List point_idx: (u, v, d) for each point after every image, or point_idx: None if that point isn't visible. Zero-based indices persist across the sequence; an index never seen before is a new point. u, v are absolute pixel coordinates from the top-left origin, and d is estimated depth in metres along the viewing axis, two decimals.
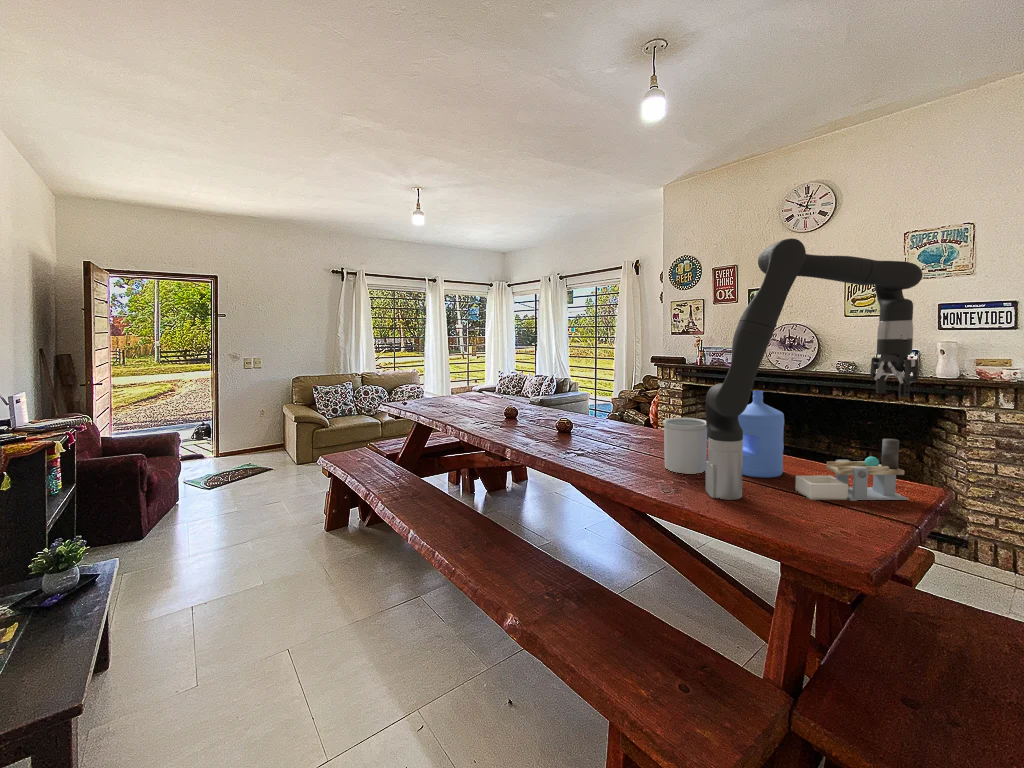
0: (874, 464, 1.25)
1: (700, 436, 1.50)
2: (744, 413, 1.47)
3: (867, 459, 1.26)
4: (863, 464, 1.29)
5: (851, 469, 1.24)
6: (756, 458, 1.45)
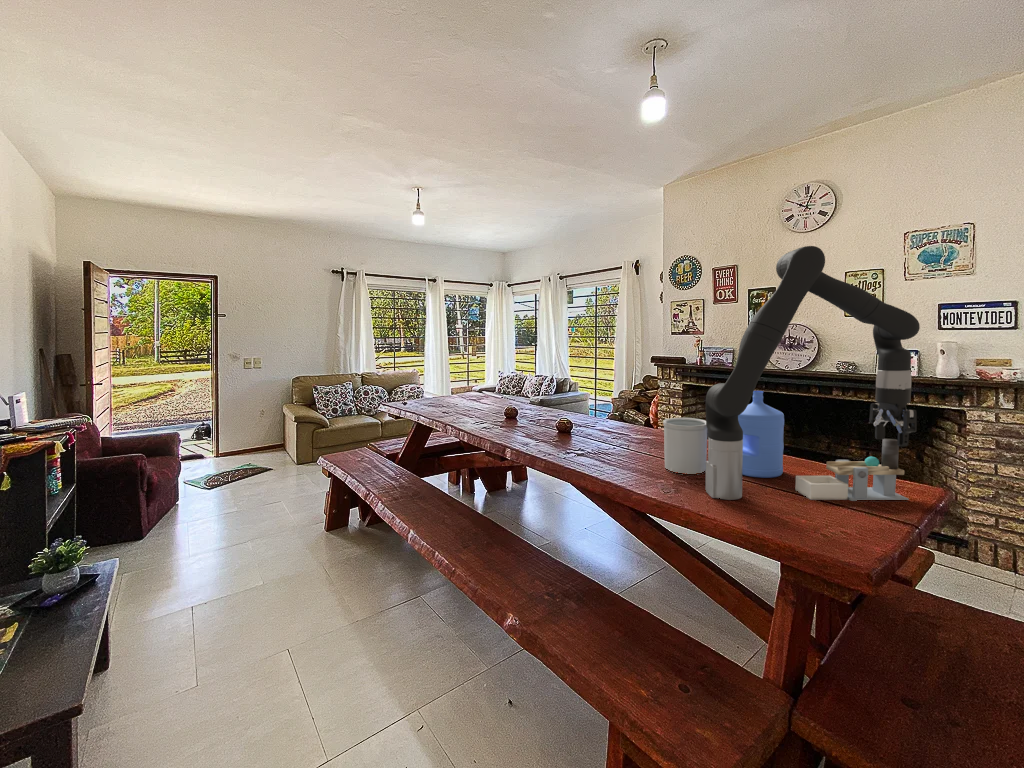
0: (874, 464, 1.25)
1: (700, 436, 1.50)
2: (744, 413, 1.47)
3: (867, 459, 1.26)
4: (863, 464, 1.29)
5: (851, 469, 1.24)
6: (756, 458, 1.45)
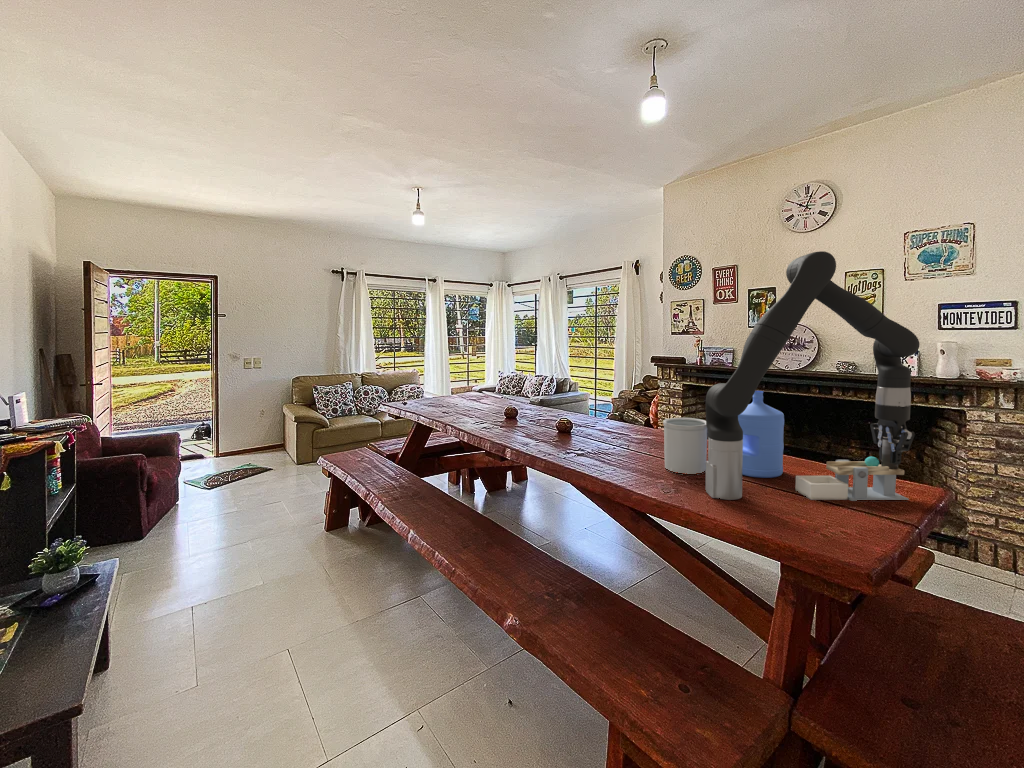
0: (875, 464, 1.25)
1: (700, 436, 1.50)
2: (744, 413, 1.47)
3: (867, 459, 1.26)
4: (863, 464, 1.29)
5: (851, 469, 1.24)
6: (756, 458, 1.45)
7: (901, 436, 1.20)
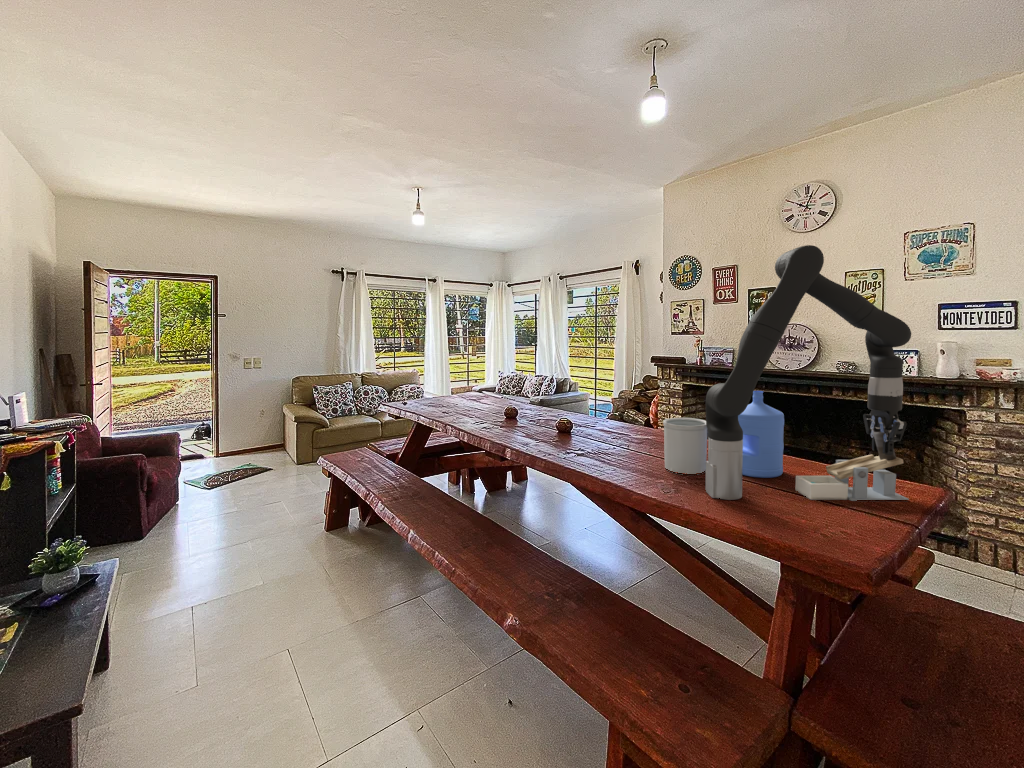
0: None
1: (700, 436, 1.50)
2: (744, 413, 1.47)
3: None
4: (862, 460, 1.29)
5: (850, 471, 1.24)
6: (756, 458, 1.45)
7: (893, 426, 1.20)
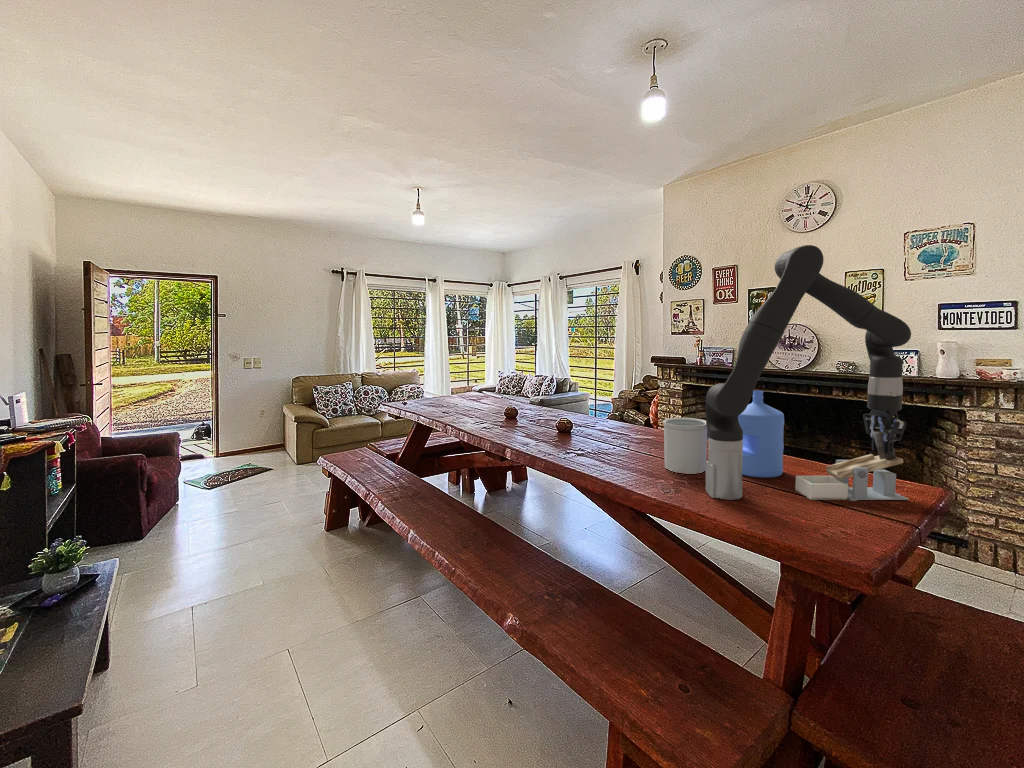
0: None
1: (700, 436, 1.50)
2: (744, 413, 1.47)
3: None
4: (862, 460, 1.29)
5: (850, 471, 1.24)
6: (756, 458, 1.45)
7: (893, 426, 1.20)
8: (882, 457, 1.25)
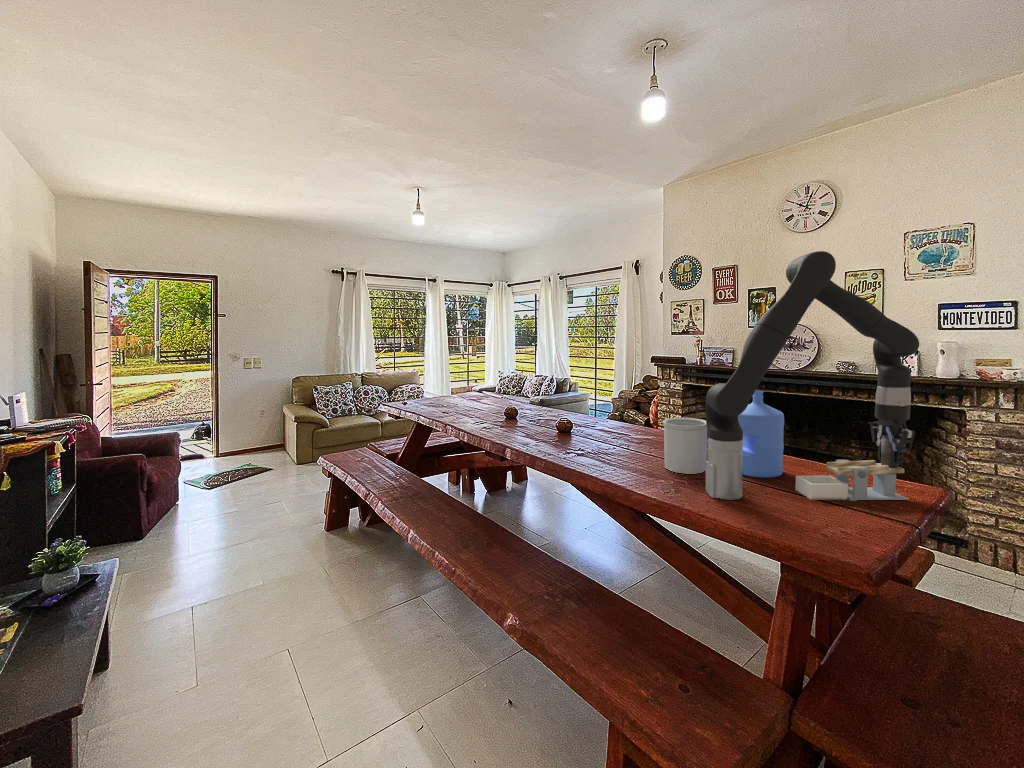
0: None
1: (700, 436, 1.50)
2: (744, 413, 1.47)
3: None
4: (863, 463, 1.29)
5: (851, 469, 1.24)
6: (756, 458, 1.45)
7: (902, 435, 1.20)
8: (884, 464, 1.26)
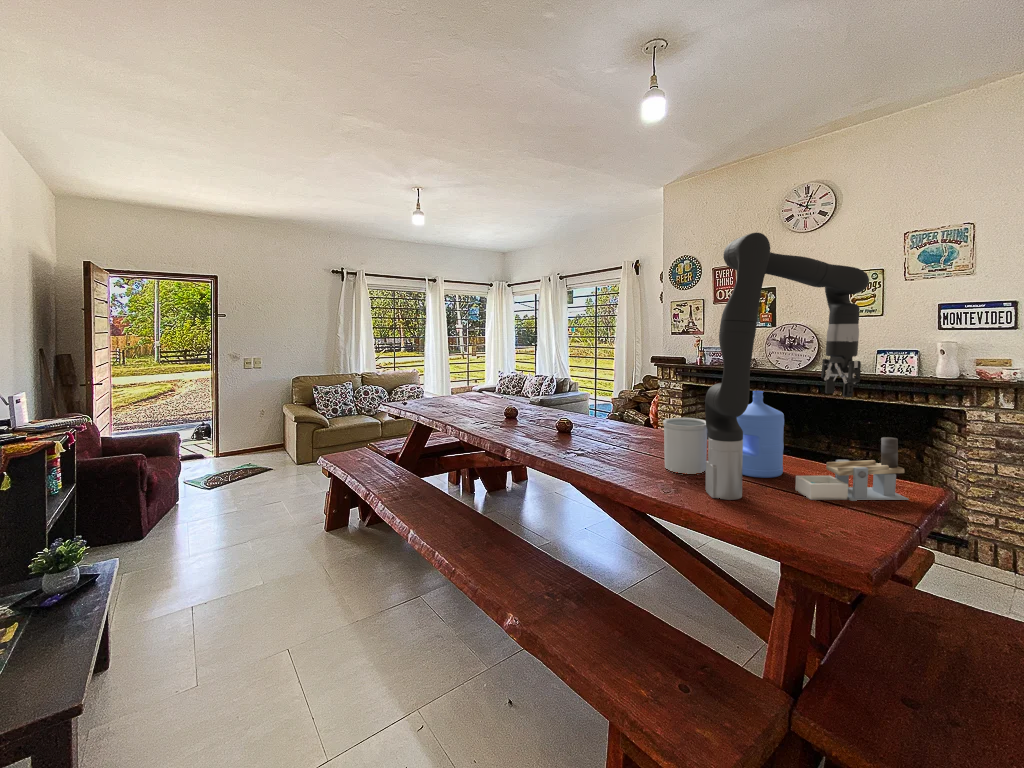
0: None
1: (700, 436, 1.50)
2: (744, 413, 1.47)
3: None
4: (863, 463, 1.29)
5: (851, 469, 1.24)
6: (756, 458, 1.45)
7: (849, 366, 1.24)
8: (884, 464, 1.26)
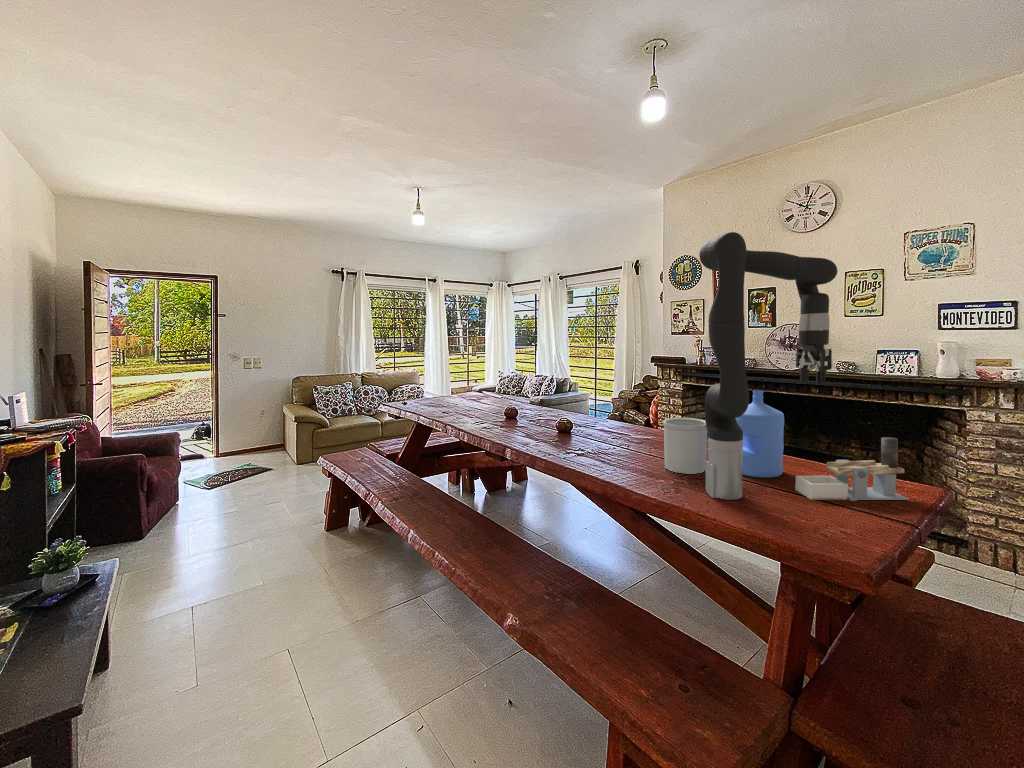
0: None
1: (700, 436, 1.50)
2: (744, 413, 1.47)
3: None
4: (863, 463, 1.29)
5: (851, 469, 1.24)
6: (756, 458, 1.45)
7: (820, 354, 1.27)
8: (884, 464, 1.26)
